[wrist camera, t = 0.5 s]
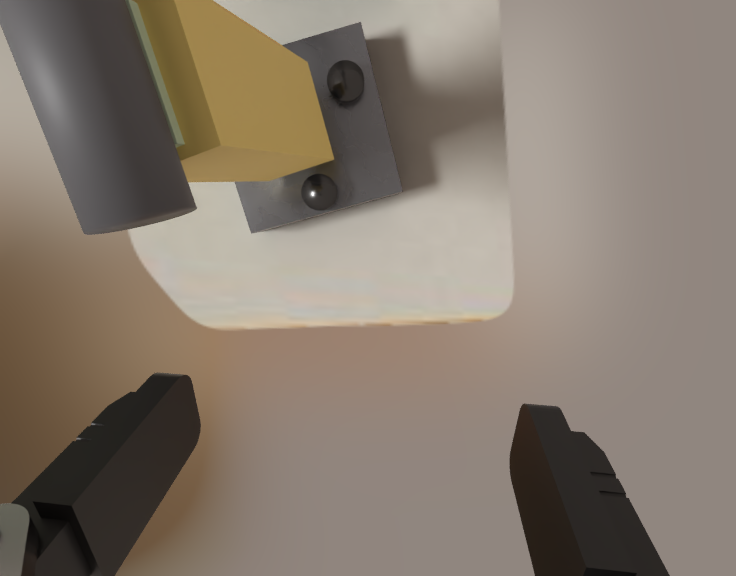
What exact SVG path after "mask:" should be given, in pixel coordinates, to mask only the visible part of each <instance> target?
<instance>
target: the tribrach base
mask: <svg viewBox="0 0 736 576" xmlns="http://www.w3.org/2000/svg"><path fill="white" fill-rule="evenodd" d="M282 46H284V47H285V48H287V49H288V50H290V51H291V52H293V53H294V54H296V55H298V56H299V57H301V58H302V59H304V60H305V61H307V62H308V65H309V69H310V72H311V76H312V80H313V83H314V87H315V91H316V94H317V98H318V102H319V105H320V109H321V112H322V116H323V120H324V123H325V127H326V131H327V134H328V138H329V141H330V145H331V149H332V152H333V156H334V160H331V161H328V162H325V163H322V164H319V165H316V166H313V167H310V168H307V169H304V170H301V171H298V172H295V173H292V174H289V175H286V176H283V177H280V178H277V179H274V180H271V181H244V182H235V184H236V188H237V191H238V194H239V197H240V200H241V203H242V206H243V209H244V212H245V215H246V219H247V222H248V225H249V228H250V231H251V233H256V232H262V231H265V230H269V229H272V228H276V227H280V226H283V225H287V224H290V223H294V222H298V221H301V220H305V219H308V218H312V217H316V216H319V215H323V214H326V213H330V212H334V211H337V210H341V209H344V208H348V207H352V206H355V205H359V204H362V203H366V202H370V201H373V200H377V199H380V198H384V197H388V196H391V195H395V194H399V193H401V192H403V190H402V186H401V182H400V178H399V174H398V170H397V166H396V162H395V158H394V154H393V150H392V146H391V142H390V138H389V134H388V130H387V126H386V122H385V118H384V114H383V110H382V106H381V102H380V98H379V94H378V90H377V86H376V82H375V78H374V74H373V70H372V66H371V62H370V58H369V54H368V49H367V45H366V41H365V37H364V33H363V29H362V25H361V22H359V23H356V24H352V25H349V26H346V27H342V28H339V29H335V30H332V31H329V32H325V33H322V34H319V35H315V36H312V37H308V38H305V39H302V40H298V41H295V42H291V43H288V44H285V45H282Z"/></svg>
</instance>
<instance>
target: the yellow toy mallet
mask: <svg viewBox="0 0 736 576" xmlns="http://www.w3.org/2000/svg"><path fill="white" fill-rule="evenodd" d="M0 25H1V27H2V30H3V32H4V35H5V37H6V40H7V42H8V44H9V47H10V50H11V52H12V55H13V57H14V60H15V62H16V65H17V67H18V70H19V72H20V75H21V77H22V80H23V82H24V84H25V87H26V90H27V92H28V95H29V97H30V100H31V102H32V105H33V107H34V110H35V112H36V115H37V117H38V120H39V122H40V125H41V127H42V130H43V132H44V135H45V137H46V140H47V142H48V145H49V147H50V150H51V153H52V155H53V157H54V160H55V163H56V165H57V168H58V170H59V173H60V175H61V178H62V180H63V182H64V185H65V188H66V190H67V192H68V195H69V198H70V200H71V203H72V205H73V207H74V210H75V213H76V215H77V218H78V220H79V223H80V225H81V228H82V230H83V232H84V234H87V235H92V234H102V233H110V232H115V231H121V230H127V229H132V228H136V227H141V226H145V225H150V224H154V223H158V222H162V221H165V220H169V219H172V218H176V217H179V216H182V215H185V214H188V213H190V212H192V211H194V210H196V209H197V207H196V205H195V202H194V199H193V196H192V193H191V190H190V187H189V184H188V182H244V181H271V180H274V179H277V178H280V177H283V176H286V175H289V174H292V173H295V172H298V171H301V170H304V169H307V168H310V167H313V166H316V165H319V164H322V163H325V162H328V161H331V160H334V156H333V152H332V149H331V145H330V141H329V138H328V134H327V131H326V127H325V123H324V120H323V116H322V112H321V109H320V105H319V102H318V98H317V94H316V91H315V87H314V83H313V80H312V76H311V72H310V69H309V65H308V62H307V61H305V60H304V59H302V58H301V57H299V56H298V55H296V54H294V53H293V52H291V51H290V50H288V49H287V48H285V47H284V46H282V45H281V44H279V43H277V42H276V41H274V40H273V39H271V38H270V37H268V36H267V35H265V34H264V33H262V32H261V31H259V30H257V29H256V28H254V27H253V26H251V25H250V24H248V23H247V22H245V21H244V20H242V19H240V18H239V17H237V16H236V15H234V14H233V13H231V12H230V11H228V10H227V9H225V8H224V7H222V6H220V5H219V4H217V3H216V2H214V1H213V0H0Z"/></svg>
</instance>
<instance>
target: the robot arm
mask: <svg viewBox="0 0 736 576" xmlns="http://www.w3.org/2000/svg"><path fill="white" fill-rule="evenodd" d="M200 427H201V424H200V418H199V413H198V408H197V404H196V399H195V394H194V390H193V385H192V381H191V378H190V377H189V376H188V375H181V374H169V373H155V374H153V375H152V376H150V377H149V378H148V379H147V381H146V382H145V383H144V384H143V385H142V386H141V387H140V388H139V389H138V390H137V391H136V392H130V393H128V394H126V395H125V396H123V397H122V398H120V399H118V400H117V401H115V402H113V403H112V404H110V405H109V406H107V408H105V410H104V411H102V412H101V414H100V415H99V416H98V417H97V418H96V419H95V420H94V421H93V422H92V423H91V426H90V427H87V428H86V429H85V430H84V431H83V432H82V433H81V434H80V435H79V436H78V437H77V440H76V441H73V442H72V443H71V444H70V445H69V446H68V447H67V448H66V449H65V450H64V451H63V452H62V453H61V454H60V455H59V456H58V457H57V458H56V459H55V460H54V461H53V462H52V463H51V464H50V465H49V466H48V467H47V468H46V469H45V470H44V471H43V472H42V473H41V474H40V475H39V476H38V477H37V478H36V479H35V480H34V481H33V482H32V483H31V484H30V485H29V486H28V487H27V488H26V489H25V490H24V491H23V492H22V493H21V494H20V495H19V496H18V497H17V498H16V499H15V500H14V501H13V502H12V503H9V504H0V576H115V574H116V572H117V571H118V569H119V568H120V566H121V565H122V563H123V561H124V560H125V558H126V557H127V555H128V553H129V552H130V550H131V549H132V547H133V545H134V544H135V542H136V541H137V539H138V538H139V536H140V534H141V533H142V531H143V530H144V528H145V526H146V525H147V523H148V521H149V520H150V518H151V517H152V515H153V514H154V512H155V510H156V509H157V507H158V506H159V504H160V502H161V501H162V499H163V498H164V496H165V495H166V493H167V491H168V490H169V488H170V487H171V485H172V483H173V482H174V480H175V479H176V477H177V475H178V474H179V472H180V471H181V469H182V467H183V466H184V464H185V463H186V461H187V459H188V458H189V456H190V455H191V453H192V451H193V450H194V448H195V446H196V444H197V442H198V439H199V434H200ZM510 475H511V481H512V485H513V489H514V493H515V497H516V501H517V505H518V509H519V513H520V517H521V521H522V525H523V529H524V533H525V537H526V541H527V545H528V549H529V553H530V557H531V561H532V565H533V569H534V573H535V576H670V575H669V574H668V572H667V570H666V568H665V566H664V564H663V563H662V560H661V559H660V557H659V555H658V553H657V551H656V549H655V547H654V545H653V544H652V542H651V540H650V538H649V536H648V534H647V532H646V530H645V528H644V527H643V525H642V523H641V521H640V519H639V517H638V515H637V513H636V512H635V510H634V508H633V506H632V504H631V502H630V500H629V498H626V493H625V491H624V489H623V487H622V485H621V483H620V481H619V480H618V479H616V474H615V472H614V470H613V468H612V466H611V464H610V462H609V461H608V459H607V457H606V455H605V453H604V452H603V451H602V450H601V449H600V448H599V447H598V446H597V445H596V444H595V443H594V442H593V441H592V440H591V439H590V438H589V437H588V436H587V435H586V434H585V433H584V432H574V431H571V430H570V428H569V426H568V424H567V422H566V419H565V417H564V415H563V413H562V411H561V409H560V408H559V407H556V406H546V405H534V404H523V405H522V406H521V408H520V412H519V416H518V421H517V425H516V429H515V434H514V438H513V442H512V447H511V451H510Z"/></svg>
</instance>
